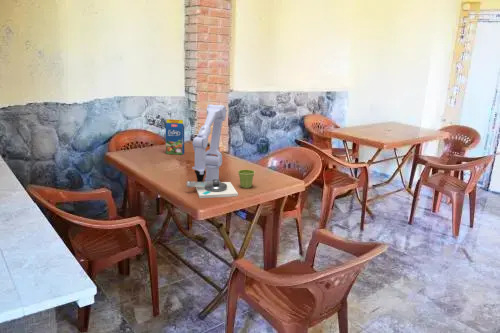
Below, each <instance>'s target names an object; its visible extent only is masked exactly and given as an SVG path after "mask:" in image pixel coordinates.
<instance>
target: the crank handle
mask: <svg viewBox="0 0 500 333" xmlns="http://www.w3.org/2000/svg"><path fill="white" fill-rule="evenodd" d="M219 181H220V179H219V180H217V179H214V180H213V181H205V180H203V181H197V180H196V181H190V180H187V181H186V188H195V187H202V186H205V189H206V190H208V191H212V192H220V191H224V190H226V189H227V185H226V184H225V183H221V181H220V182H219Z"/></svg>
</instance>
